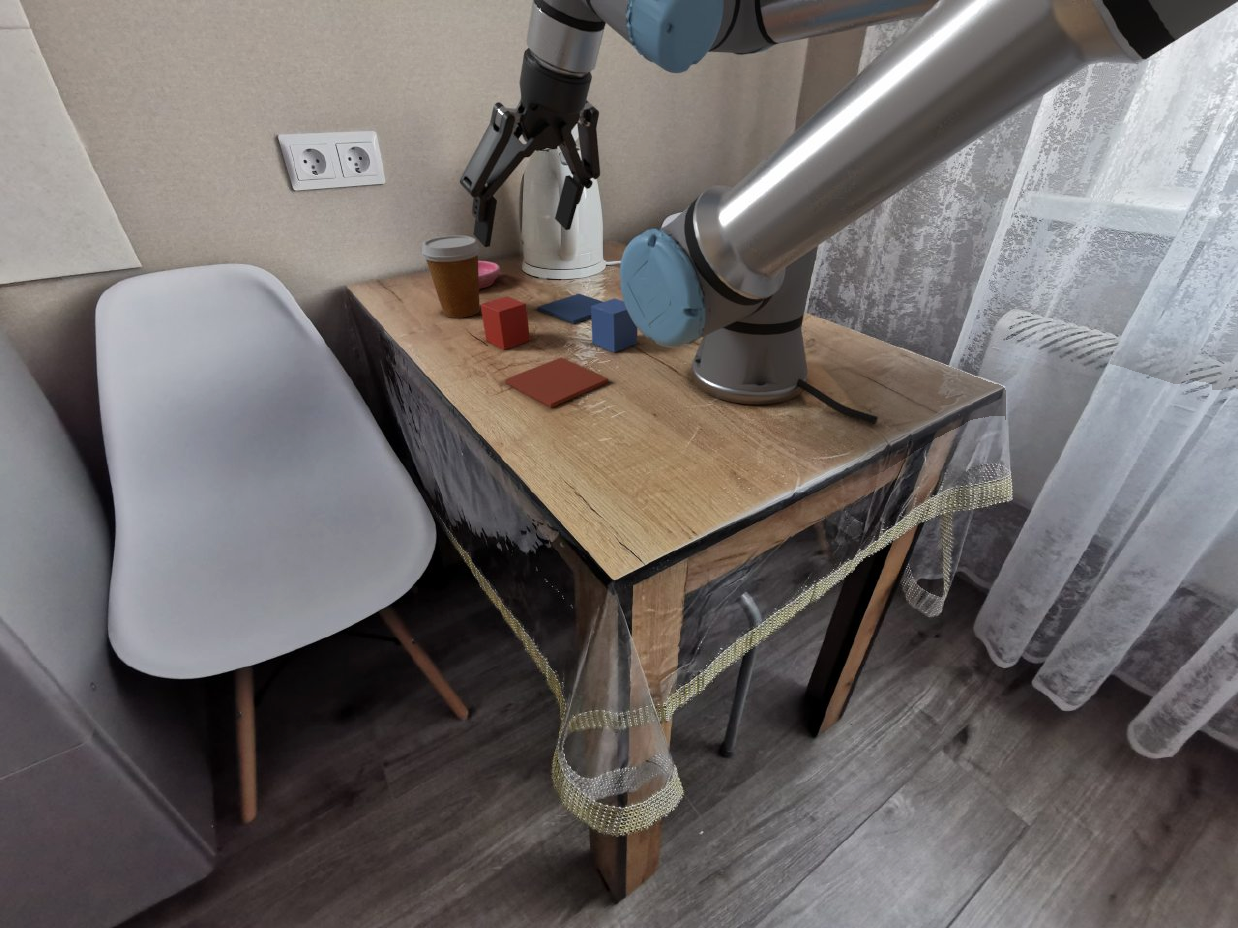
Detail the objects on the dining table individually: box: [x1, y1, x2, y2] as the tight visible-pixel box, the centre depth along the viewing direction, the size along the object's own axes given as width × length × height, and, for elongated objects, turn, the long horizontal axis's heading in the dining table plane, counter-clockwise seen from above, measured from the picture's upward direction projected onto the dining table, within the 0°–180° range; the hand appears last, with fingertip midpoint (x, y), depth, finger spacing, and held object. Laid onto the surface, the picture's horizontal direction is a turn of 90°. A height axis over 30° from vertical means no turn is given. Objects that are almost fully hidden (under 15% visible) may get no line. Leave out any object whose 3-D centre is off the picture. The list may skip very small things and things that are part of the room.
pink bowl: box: [478, 260, 501, 290], centre depth 112 cm, size 12×12×3 cm
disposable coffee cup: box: [421, 235, 481, 319], centre depth 96 cm, size 10×10×12 cm
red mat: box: [504, 357, 609, 409], centre depth 76 cm, size 10×10×1 cm
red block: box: [480, 296, 531, 350], centre depth 87 cm, size 5×5×6 cm
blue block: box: [590, 298, 638, 353], centre depth 85 cm, size 5×5×6 cm
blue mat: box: [536, 293, 604, 324], centre depth 100 cm, size 10×10×1 cm
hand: (524, 232), depth 76 cm, fingers open, 13 cm apart
